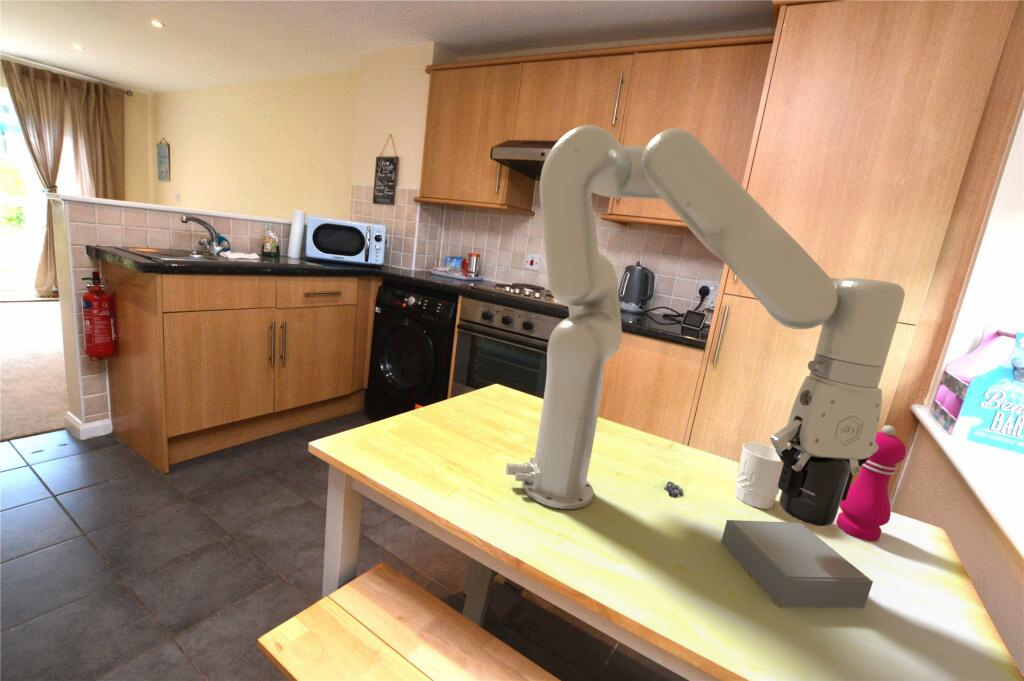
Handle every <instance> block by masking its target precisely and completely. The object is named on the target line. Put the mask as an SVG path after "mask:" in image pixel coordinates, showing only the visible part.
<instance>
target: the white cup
mask: <svg viewBox="0 0 1024 681" xmlns="http://www.w3.org/2000/svg"><path fill="white" fill-rule="evenodd" d="M738 463H739V464H738V469H737V474H736V483H735V484H736V485H735V488H734V495H735V497H736V498H737V499H738V500H739V501H741V502H743V503H744V504H747V505H748V506H750V507H754V508H757V509H762V510H763V509H764V510H769V509H772V508H773V507H774V504H775V502H776V498H777V496H778V495H779V492H780V489H779V488H778V482H779V479H780V475H781V471H782V467H783V464H784V463H783V462H781V461H780V457H779V455H778V454H777V452H776V449H775V447H774V446H771V445H769V444H764V443H759V442H753V441H752V442H751V441H750V442H749V441H748V442H744V443H743V444H742V448H741V453H740V458H739V462H738Z"/></svg>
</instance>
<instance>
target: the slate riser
mask: <svg viewBox="0 0 1024 681" xmlns="http://www.w3.org/2000/svg"><path fill="white" fill-rule="evenodd" d="M720 543H721V544H722V545H723V547H724V548H725V549H726V550H727V551H728V552H729V553H730V554H731V555H732V557H733V558H734V559H736V561H737V562H738V563H739V564H740V566H742V568H743V569H744V570H745V571H746V572H747V573H748V574H749V575H750V577H751V578H752V579H753V580H754V581H755V582H756V583H757V585H759V586H760V588H762V590H763V591H764V592H765V593H766V594H767V595H768V597H769V598H770V599H771V601H773V603H775V604H776V605H777V606H778V607H779V608H865V607H866V604H867V600H868V598H869V596H870V595H869V594H870V591H871V588H872V586H873V584H874V581H873V580H872V579H871V578H870V577H868V576H867V575H865V574H864V572H862V571H860V570H859V569H858V568H857V567H856V566H854V564H852V563H850V561H848V560H847V559H846V558H844V557H843V556H842V555H841V554H839V553H838V552H837V551H836V550H835V549H834V548H833V547H831V546H829V544H827V543H826V542H825V541H824V540H822V539H821V538H820V537H818V536H817V535H816V534H815V533H813V532H812V531H811V530H810V529H809V528H808V527H806V526H805V525H804V524H802V523H801V522H795V521H794V522H793V521H792V522H790V521H761V520H741V519H740V520H737V519H726V522H725V527H724V530H723V534H722V538H721V542H720Z"/></svg>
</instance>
